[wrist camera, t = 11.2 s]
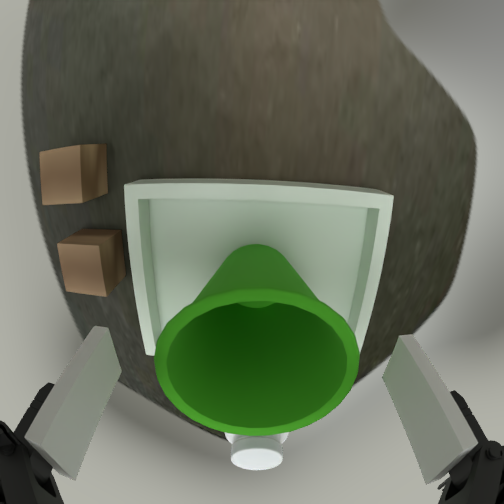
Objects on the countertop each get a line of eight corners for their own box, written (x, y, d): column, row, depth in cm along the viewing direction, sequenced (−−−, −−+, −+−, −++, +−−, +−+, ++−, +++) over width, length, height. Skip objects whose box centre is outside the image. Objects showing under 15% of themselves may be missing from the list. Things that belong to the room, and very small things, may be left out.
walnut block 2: (82, 228, 22) (57, 243, 18) (121, 229, 22) (98, 245, 18) (88, 271, 23) (66, 291, 19) (126, 274, 23) (106, 296, 19)
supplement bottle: (289, 361, 26) (301, 446, 17) (277, 397, 28) (283, 475, 19) (232, 355, 26) (225, 441, 16) (226, 392, 28) (219, 471, 18)
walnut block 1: (68, 149, 19) (39, 152, 15) (107, 143, 19) (80, 144, 15) (70, 195, 21) (42, 205, 17) (108, 193, 21) (82, 203, 17)
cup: (245, 342, 24) (240, 452, 14) (172, 263, 21) (114, 357, 11) (336, 285, 22) (387, 385, 12) (269, 190, 20) (286, 239, 9)
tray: (140, 179, 20) (124, 184, 17) (376, 189, 20) (393, 195, 17) (155, 334, 25) (146, 354, 22) (348, 340, 25) (357, 361, 22)
